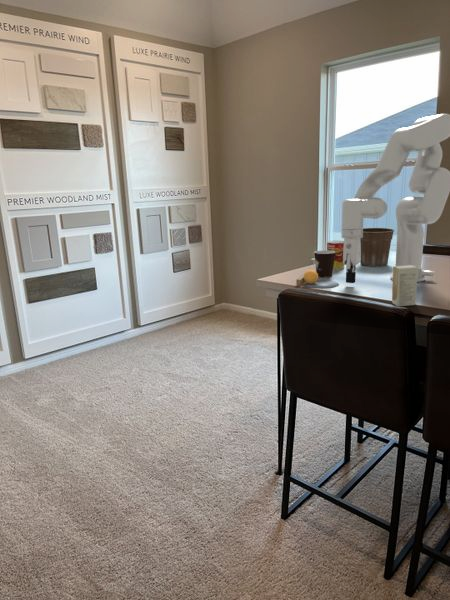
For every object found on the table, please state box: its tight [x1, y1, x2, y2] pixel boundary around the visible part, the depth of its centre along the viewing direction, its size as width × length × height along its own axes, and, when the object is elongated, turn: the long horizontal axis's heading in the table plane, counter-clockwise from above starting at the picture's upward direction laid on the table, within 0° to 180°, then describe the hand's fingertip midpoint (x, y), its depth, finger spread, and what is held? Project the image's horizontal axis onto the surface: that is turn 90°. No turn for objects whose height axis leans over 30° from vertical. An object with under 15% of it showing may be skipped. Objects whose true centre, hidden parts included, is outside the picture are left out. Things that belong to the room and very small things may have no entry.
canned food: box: [326, 240, 345, 270], centre depth 203 cm, size 8×8×12 cm
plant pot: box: [359, 227, 395, 268], centre depth 207 cm, size 16×16×16 cm
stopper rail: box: [295, 274, 306, 287], centre depth 177 cm, size 2×10×2 cm, turn 154°
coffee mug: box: [313, 250, 335, 278], centre depth 190 cm, size 12×9×10 cm
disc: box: [304, 279, 340, 289], centre depth 174 cm, size 13×13×1 cm
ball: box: [303, 269, 319, 284], centre depth 175 cm, size 6×6×6 cm
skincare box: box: [391, 265, 418, 307], centre depth 142 cm, size 6×4×12 cm
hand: (350, 282), depth 169 cm, fingers closed
